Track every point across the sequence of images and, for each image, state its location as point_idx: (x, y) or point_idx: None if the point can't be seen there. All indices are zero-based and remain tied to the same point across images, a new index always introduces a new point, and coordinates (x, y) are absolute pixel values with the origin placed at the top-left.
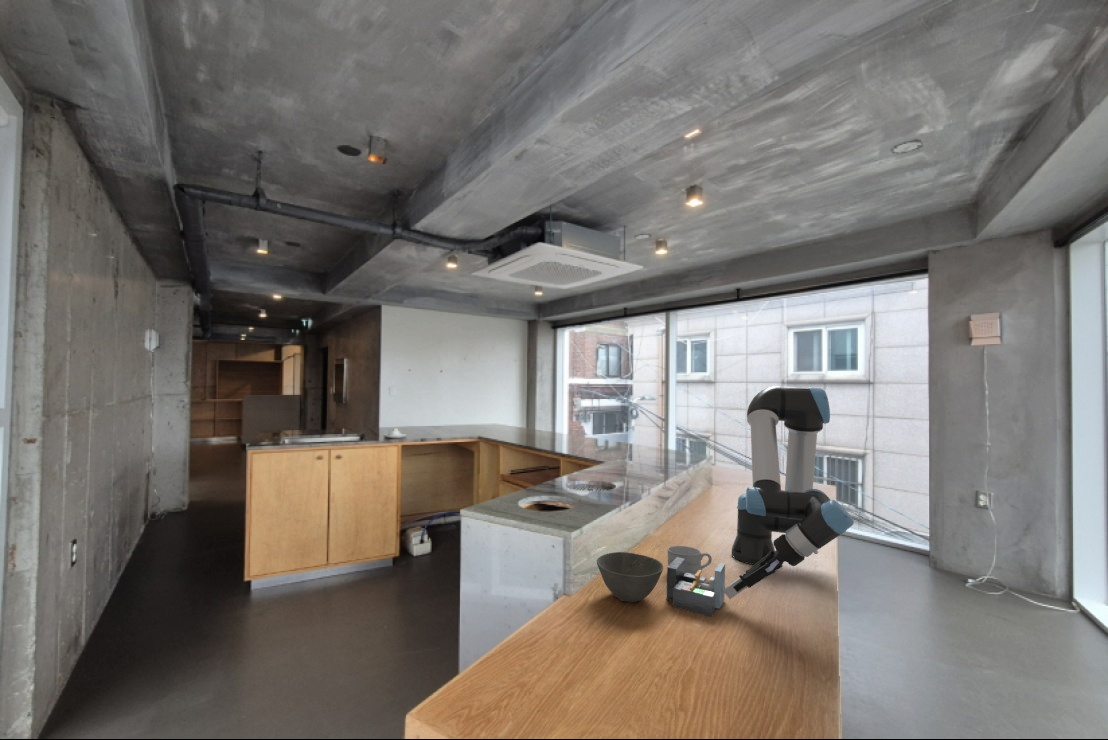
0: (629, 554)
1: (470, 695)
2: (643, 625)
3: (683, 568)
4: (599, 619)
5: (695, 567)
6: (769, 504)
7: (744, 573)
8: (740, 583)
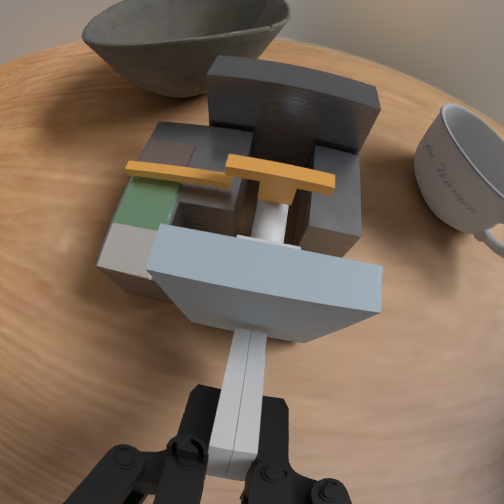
0: (280, 4)
1: None
2: (58, 132)
3: (342, 129)
4: (82, 76)
5: (454, 206)
6: None
7: (275, 479)
8: (179, 432)
